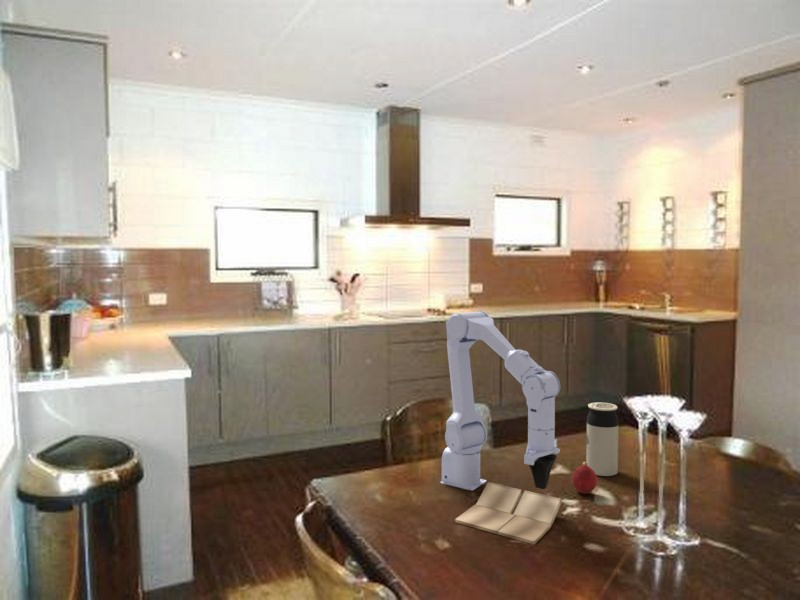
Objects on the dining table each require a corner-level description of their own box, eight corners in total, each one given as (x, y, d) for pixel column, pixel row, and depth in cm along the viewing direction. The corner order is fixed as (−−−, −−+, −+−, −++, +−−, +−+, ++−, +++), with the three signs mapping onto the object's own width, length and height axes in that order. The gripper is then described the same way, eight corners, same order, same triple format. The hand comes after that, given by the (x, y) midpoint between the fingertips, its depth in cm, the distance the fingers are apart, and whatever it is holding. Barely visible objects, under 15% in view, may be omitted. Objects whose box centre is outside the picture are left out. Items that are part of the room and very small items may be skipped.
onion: (598, 500, 138) (599, 467, 138) (573, 498, 139) (573, 465, 139) (595, 490, 144) (595, 459, 143) (571, 489, 145) (571, 457, 145)
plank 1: (477, 508, 134) (475, 504, 134) (489, 485, 139) (488, 481, 139) (511, 517, 129) (509, 513, 129) (522, 493, 134) (521, 489, 134)
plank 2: (514, 517, 129) (513, 514, 128) (525, 494, 134) (524, 490, 133) (551, 527, 124) (550, 523, 124) (561, 502, 129) (560, 498, 128)
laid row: (454, 524, 126) (454, 519, 126) (474, 509, 134) (474, 504, 134) (534, 547, 116) (534, 541, 116) (551, 529, 123) (551, 524, 123)
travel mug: (620, 469, 158) (621, 404, 157) (613, 479, 151) (614, 410, 150) (590, 464, 162) (591, 400, 161) (582, 473, 156) (583, 406, 155)
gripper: (546, 438, 121) (546, 502, 122) (570, 422, 133) (569, 480, 134) (514, 433, 125) (514, 495, 126) (540, 418, 137) (540, 474, 138)
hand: (541, 487), depth 130 cm, fingers closed
